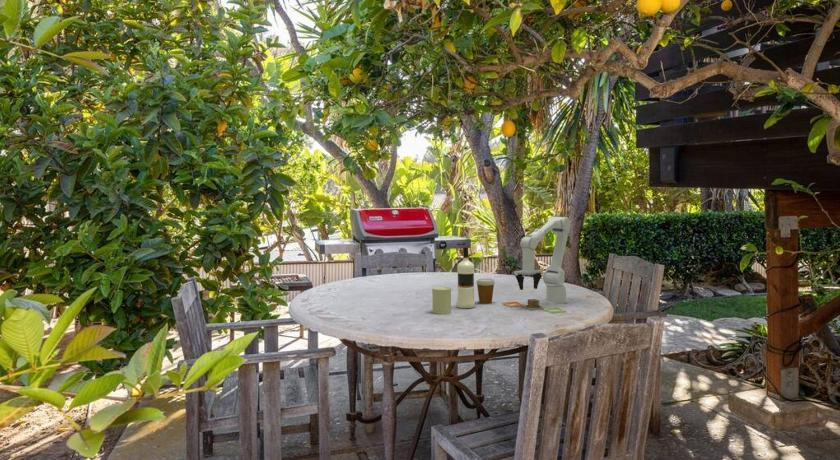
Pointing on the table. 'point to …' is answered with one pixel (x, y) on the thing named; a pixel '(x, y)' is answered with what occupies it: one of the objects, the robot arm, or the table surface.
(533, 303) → the letter cube
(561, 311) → the sage dish
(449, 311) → the can
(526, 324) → the table surface
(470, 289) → the vodka
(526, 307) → the slate dish
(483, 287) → the disposable coffee cup
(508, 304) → the terracotta dish
